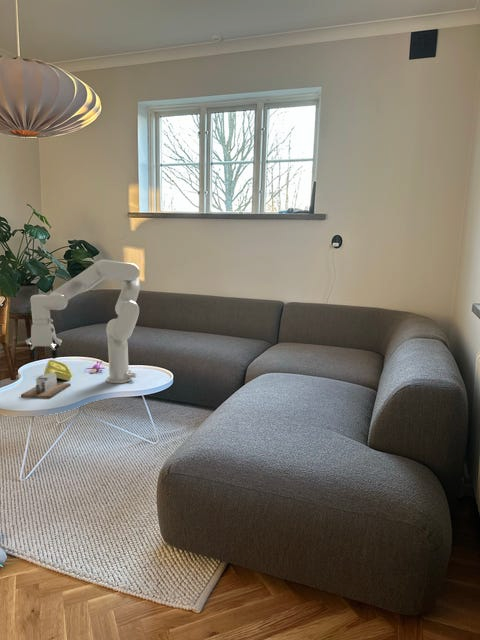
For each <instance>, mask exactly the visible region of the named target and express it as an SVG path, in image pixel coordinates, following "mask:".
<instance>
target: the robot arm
mask: <svg viewBox="0 0 480 640" xmlns="http://www.w3.org/2000/svg"><path fill="white" fill-rule="evenodd" d="M140 272H141V271H140V268H139V267H138V265H137V264H136V263H131V262H123V261H115V260H110V259H99V260H97V261H96V262H95V263H92V264H91V265H90V266H89V267H87V268H86V269H85V270H83V271H82V272H80V273H79V274H78V275H76V276H75V277H73V278H71V279H70V280H68V281H67V282H65V283H64V284H62V285H60V286H59V287H57V288H56V289H54V290H53V291H52V292H51V293H50V294H48V295H47V294H42V293H41V294H34V295H31V297H30V300H29V301H30V309H31V319H32V324H31V329H30V337H28V338H27V339H25V343H26V345H27V347H28V348H29V349H30V350H31V355H32V358H33V359H36V358H38V357H39V353H38V352H39V351H38V348H37V347H50V348H51V357H52V360H54V359H57V358H58V355H59V354H58V353H59V352H58V349H59V348H60V347H61V345H62V342H63V340H62V339H60V338H58V337H57V335H56V330H55V327H54V323H53V322H54V320H53V319H52V317H51V312H50V310H51V311H62V310H64V309H66V308H67V306H68V303H69V300H71V299H72V298H74V297H75V296H77V295H79V294H82V293H85V292H87V291H90V290H91V289H93V288H94V287H95V286H97V285H98V284H99V283H100V282H103V280H105V279H112V280H120V281H121V282H122V286H121V290H120V293H119V296H118V299H117V302H116V304H115V306H114V307H115V308H114V310H115V314H116V315H117V318H112V319H111V320H109V321H108V322H107V325H106V329H105V331H106V338H107V349H108V351H107V354H108V368H109V369H108V371H109V376H107V378H106V382H107V383H109V384H124V383H128V382H131V381H132V380H133V378H137V373H136V372H131V370H130V369H129V348H128V347H129V346H128V345H129V344H128V340H129V339H130V337H131V336H132V334H133V332H134V329H135V327H136V324H137V321H138V318H139V315H140V306H139V305H138V303H137V301H138V300H137V299H138V297H139V293H140V290H141V289H140V287H141V284H140V279H139V276H140V274H141V273H140Z"/></svg>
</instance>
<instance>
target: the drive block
mask: <svg viewBox="0 0 480 640" xmlns="http://www.w3.org/2000/svg"><path fill="white" fill-rule="evenodd" d="M57 379H58V378H56V373H47V374H46V375H44V374H43V375H42V376H40V377H37V378H36V379H35V383H36V385H39V386H40V392H46V391H48V390H50V389H52V388H53V387H55V386H57V383H58V380H57Z"/></svg>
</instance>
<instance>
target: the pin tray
mask: <svg viewBox="0 0 480 640" xmlns="http://www.w3.org/2000/svg"><path fill="white" fill-rule="evenodd" d="M69 387H71V383H70V382H69V383H68V382H66V383H65V382H57V386H55V387H53V388H52V389H50V390H48V391H46V392H40V386H39V385H37V384H36V385H35V386H34V387H32V388H31V389H28V390H26V391H25V392H23V393H21V394H20V397H21V398H30V399H31V398H33V399H35V398H36V399H52V398H53V397H55V396H56V395H58V394H60V393H61V392H63V391H65V390H66V389H68V388H69Z"/></svg>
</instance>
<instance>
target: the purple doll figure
mask: <svg viewBox="0 0 480 640" xmlns="http://www.w3.org/2000/svg"><path fill="white" fill-rule="evenodd" d="M102 362H103V361H102V360H100V363H99V361H98V360H97V361H96V364H94V365H92V367H85V369H84V371H86V370H91V371H89V373H90V374H91V375H93V374H95V373H97V372H98V373H102V372H104V371H103V370H102V369H104V370H106V367H101V365H102Z"/></svg>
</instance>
